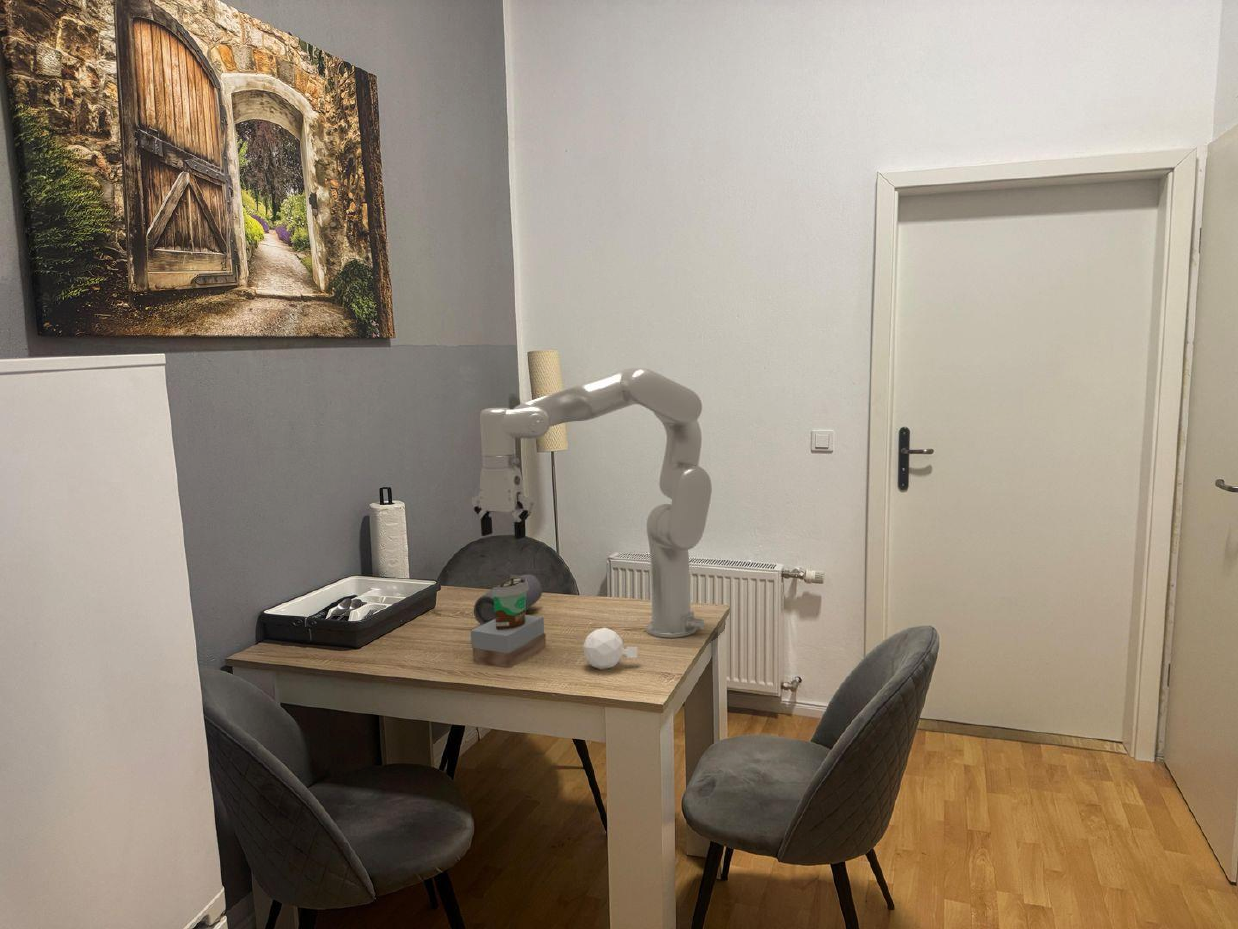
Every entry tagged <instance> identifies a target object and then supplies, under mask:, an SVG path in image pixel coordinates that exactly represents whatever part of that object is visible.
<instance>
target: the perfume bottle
mask: <svg viewBox="0 0 1238 929" xmlns="http://www.w3.org/2000/svg"><path fill="white" fill-rule="evenodd" d="M582 650H583V654H584V655H583V656H584V658H585V660H586V661H587V662H588V663H589V664H590V665H591V666H592V667H594V668H596V669H598V670H601V671H602V670H606V669H610V668H614V667H615V666H616V665H617V664H618V663H619V662H620V661H621V659H622V657H623V655H625V657H626V658H630V659H631V658H632V659H637V658H638V651H639V650H638V646H637V647H636V646H626V648H624V643H623V639H622V637H620V635H619V634H618V633H617V632H616V631H614V630H611V629H610V628H607V627H602V628H597V629H595V630H592V632H591V633H589V634H588V635H587V636H586V637H585V640H584V643H583V644H582Z"/></svg>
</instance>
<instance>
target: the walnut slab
mask: <svg viewBox="0 0 1238 929" xmlns="http://www.w3.org/2000/svg"><path fill="white" fill-rule="evenodd" d="M546 648H547V636H546V633H545V632H544V634H542V635H540V636H538V637H537V638H535V639H533V640H531V641H529V642H528V643H526V644H524V645H522V646H520V647H518V648H517V649H515V650H513V651H511V652H509V653H502V652H496V651H490V650H484V649H477V648H472V661H473V663H476V664H483V665H487V666H494V667H498V668H505V669H511V668H512V667H514V666H516V665H518V664H519V663H521V662H523V661H525V660H526V659H529V658H530V657H532V656H534V655H535V654H537V653H539V652H541V651H542V650H544V649H546Z"/></svg>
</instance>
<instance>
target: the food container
mask: <svg viewBox="0 0 1238 929" xmlns="http://www.w3.org/2000/svg"><path fill="white" fill-rule="evenodd" d="M500 585H501V586H500V587H497V586H495V587H492V589H493V593H492V597H494V608H495V619H496V629H511V628H516V627H519V626H522V625H523V624H524V623H525V615H526V611H527V610H526V591H528V590H529V586H528V582H527V581H526V578H524V577H522V575H515V574H510V579H509V580H506V581H504V582H503V583H501V584H500Z"/></svg>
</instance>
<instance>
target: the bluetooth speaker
mask: <svg viewBox="0 0 1238 929" xmlns="http://www.w3.org/2000/svg"><path fill="white" fill-rule="evenodd" d="M521 576H522V577H524V578H526V581H527V582H528V586H529V590H528V591H526V611H527V610H528V609H529V608H531V607H532V606H533V605H535V604H536V603H537V602H538V601H539V600H540V599H541V597H542V595H543V587H542V584H541V581H539V579H538V578H537V576H535V575H533V574H522V575H521ZM500 586H501V584H500V585H499V584H498V585H497V586H496V587H500ZM492 593H493V588H492V589H490V590H489V591H488V592H486V593H484V594H482V595H481V596H480V597H478V599H477V600H476V602H475V603H474V606H473V615H474V618H475V620H476V621H477V622H478V623H479V624H480V626H481V625H483V624H485V623H487V622H490V621H492V620H494V619H495V608H494V597H492Z"/></svg>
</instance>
